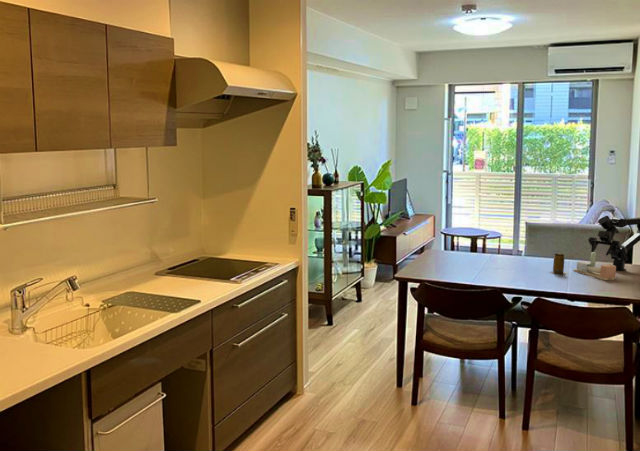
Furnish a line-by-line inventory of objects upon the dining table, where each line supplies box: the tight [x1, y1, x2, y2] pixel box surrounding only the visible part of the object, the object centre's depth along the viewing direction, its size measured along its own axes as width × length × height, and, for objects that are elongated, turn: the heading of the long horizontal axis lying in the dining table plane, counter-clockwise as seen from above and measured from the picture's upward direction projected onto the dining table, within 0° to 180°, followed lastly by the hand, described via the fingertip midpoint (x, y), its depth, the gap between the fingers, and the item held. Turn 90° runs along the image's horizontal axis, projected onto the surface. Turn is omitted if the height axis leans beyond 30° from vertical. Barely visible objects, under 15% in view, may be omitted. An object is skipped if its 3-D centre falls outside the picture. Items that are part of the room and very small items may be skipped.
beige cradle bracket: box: [587, 251, 601, 274], centre depth 381 cm, size 3×15×12 cm, turn 22°
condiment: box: [550, 252, 569, 276], centre depth 383 cm, size 7×8×12 cm
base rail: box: [572, 268, 616, 281], centre depth 380 cm, size 7×26×1 cm, turn 22°
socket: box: [600, 263, 617, 279], centre depth 370 cm, size 7×4×7 cm, turn 112°
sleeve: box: [576, 260, 592, 273], centre depth 386 cm, size 5×8×5 cm, turn 22°
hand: (599, 253), depth 383 cm, fingers open, 9 cm apart
